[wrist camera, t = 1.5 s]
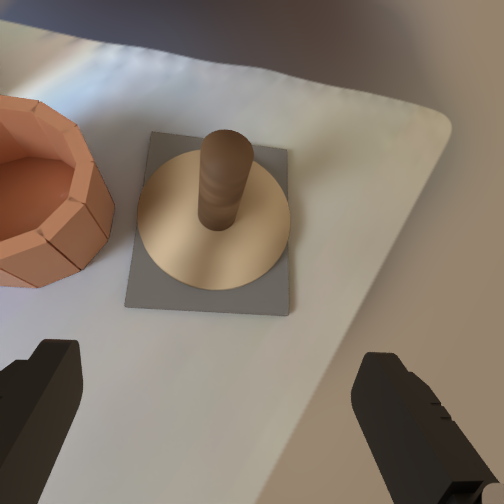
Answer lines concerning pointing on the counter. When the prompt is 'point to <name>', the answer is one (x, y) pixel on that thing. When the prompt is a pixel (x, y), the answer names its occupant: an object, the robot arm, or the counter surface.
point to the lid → (214, 215)
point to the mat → (193, 299)
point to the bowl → (47, 196)
